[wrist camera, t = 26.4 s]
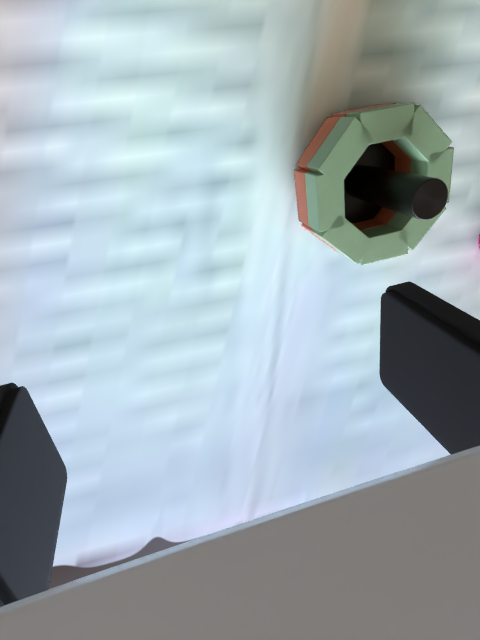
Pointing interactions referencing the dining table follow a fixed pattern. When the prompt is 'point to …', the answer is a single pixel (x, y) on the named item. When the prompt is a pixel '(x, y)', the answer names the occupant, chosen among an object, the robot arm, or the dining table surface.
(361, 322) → the dining table surface
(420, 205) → the peg stand
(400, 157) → the ring terracotta
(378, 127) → the ring green
